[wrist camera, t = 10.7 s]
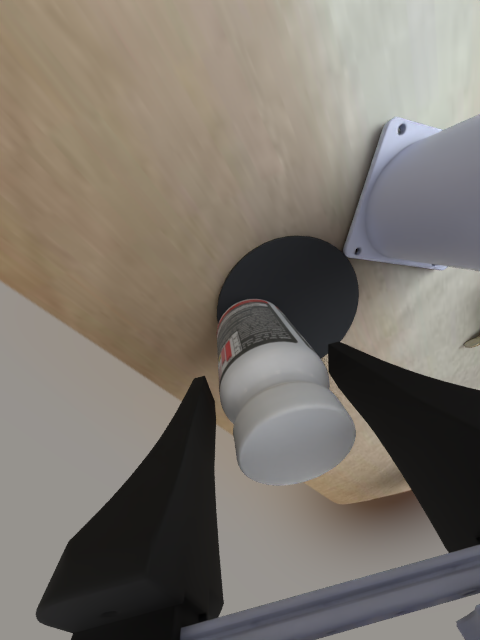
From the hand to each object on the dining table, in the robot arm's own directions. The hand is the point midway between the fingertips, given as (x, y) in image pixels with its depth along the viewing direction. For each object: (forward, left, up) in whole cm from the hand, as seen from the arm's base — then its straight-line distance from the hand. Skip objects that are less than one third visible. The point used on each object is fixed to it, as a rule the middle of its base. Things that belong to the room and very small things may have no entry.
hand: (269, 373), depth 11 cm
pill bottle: (0, 0, -6) cm, 6 cm away
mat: (-3, -1, -6) cm, 7 cm away
